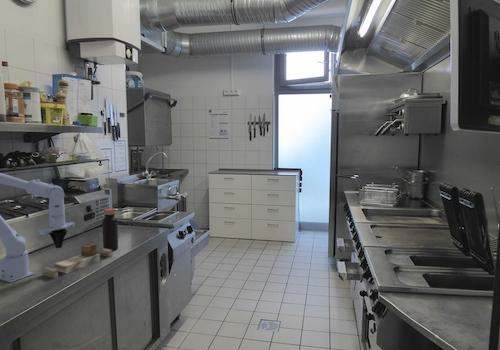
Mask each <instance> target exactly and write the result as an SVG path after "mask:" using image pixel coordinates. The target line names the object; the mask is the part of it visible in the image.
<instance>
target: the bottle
mask: <svg viewBox="0 0 500 350" xmlns="http://www.w3.org/2000/svg"><path fill="white" fill-rule="evenodd" d="M103 212H104V213H103V215H104V217H103V219H102V222H101V223H102V246H103V247H102V248H105V249H110V250H112V252H114V251H117V250H118V248H119V237H118V235H119V234H118V233H119V232H118V218H117V217H116V216H115V214H116V209H115V208H105V209H103Z"/></svg>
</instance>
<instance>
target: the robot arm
mask: <svg viewBox="0 0 500 350" xmlns="http://www.w3.org/2000/svg"><path fill="white" fill-rule="evenodd" d="M1 184H3V185H6V186H9V187H10V186H11V187H15V188H19V189H23V190H25V191H26V193H27V194H29V195H33V196H36V197H40V198H45V199H47V198H48V203H49V204H48V217H49V220H48V221H49V223H48V224H49V226H46V227H43V228H39V231H38V232H39V233H38V234H39V235H42V236H43V235H47V234H49V237H50V238H51V240H52V241H53V244H54V247H55V248H56V249H60V248H61V249H62V247H63V244H64V243H63V242H64V239H65V238H66V235H67V234H68V229H69V228H75V227H76V226H75V225H76V223H75V221H70V222H69V221H68V222H66V212H65V211H66V210H65V209H66V207H65V206H66V205H65V203H64V202H65V199H64V198H65V195H66V194H65V192H64V189H63V188H62V187H61V186H59V185H57V184H54V183H46V182H43V181H41V179H39V178H37V179H31V180H29V181H27V180H24V179H22V178H18V177H15V176H12V175H9V174H5V173H2V172H0V185H1ZM0 241H1V243H2V244H3V245H4V248H5V249H6V250H5V251H6V254H5V256H4V257H2V258H0V281H5V282H7V283H13V282H15V281H19V280H21V279H24V278H28V277H29V276H33V275H35V272H32V271H30V268H29V266H30V265H29V264H30V263H29V251H28V250H27V247H26V244H27V239H26V237H25V236H24V235H21V234H19V233H18V232H17V231H16V230H15V229H13V228H12V227H11V226H10V225H9V223H8V222H7V221H6V220H5V219H4V218H3V217H2V215H1V214H0Z"/></svg>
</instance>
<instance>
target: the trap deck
mask: <svg viewBox="0 0 500 350" xmlns="http://www.w3.org/2000/svg"><path fill="white" fill-rule="evenodd" d="M112 257H113V251H112V250H110V249H105V248H103V247H100V248H97V254H96V255H93V256H90V257H85V256H81V254H79V255H76V256H73V257H70V258H66V259H65V260H62V261H58V262H55V263H53V264H54V265H53V267H54V268H53V267H49V266H44V267H42V276H45V277H49V278H53V279H55V278H59V277H62V276H64V275H67V274H70V273H72V272H75V271H77V270H79V269H83V268H85V267H87V266H91V265H93V264H96V263H99V262H101V261H103V260H106V259H108V258H112Z"/></svg>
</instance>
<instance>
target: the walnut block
mask: <svg viewBox="0 0 500 350" xmlns="http://www.w3.org/2000/svg"><path fill="white" fill-rule="evenodd" d="M97 247H98V246H97V243H91V242H88V243H84V244H82V245H80V255H81V256H85V257H90V256H93V255H96V254H98V248H97Z"/></svg>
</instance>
